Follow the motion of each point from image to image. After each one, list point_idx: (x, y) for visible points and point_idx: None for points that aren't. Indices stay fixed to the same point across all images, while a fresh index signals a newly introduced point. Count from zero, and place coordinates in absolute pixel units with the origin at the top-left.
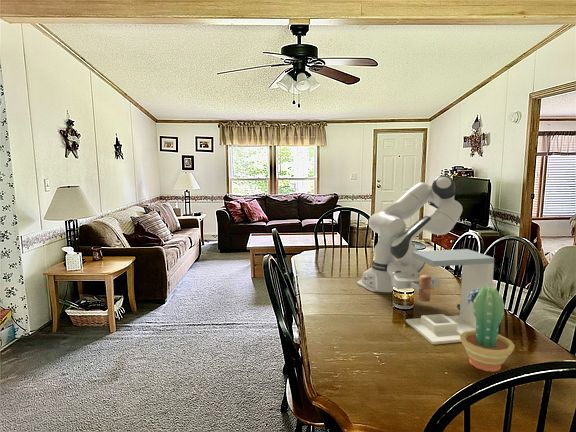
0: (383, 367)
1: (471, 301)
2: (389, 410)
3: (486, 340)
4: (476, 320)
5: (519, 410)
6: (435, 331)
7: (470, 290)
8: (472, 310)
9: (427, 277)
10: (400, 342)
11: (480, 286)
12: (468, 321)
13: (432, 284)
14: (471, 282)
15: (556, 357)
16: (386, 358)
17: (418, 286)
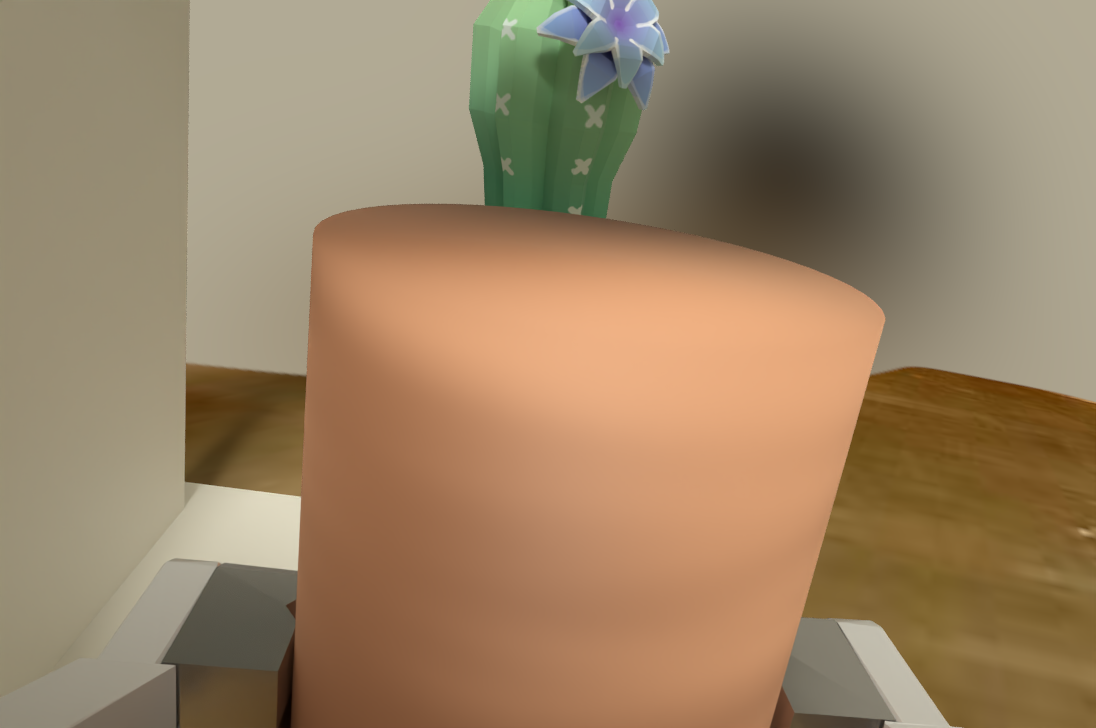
0: (1073, 512)
1: (600, 89)
2: (1004, 401)
3: None
4: (615, 173)
5: None
6: None
7: (25, 175)
8: (80, 436)
9: (577, 229)
10: (993, 654)
11: (134, 30)
12: (49, 639)
13: (180, 587)
14: (23, 20)
15: None
16: (1073, 552)
17: (850, 625)
